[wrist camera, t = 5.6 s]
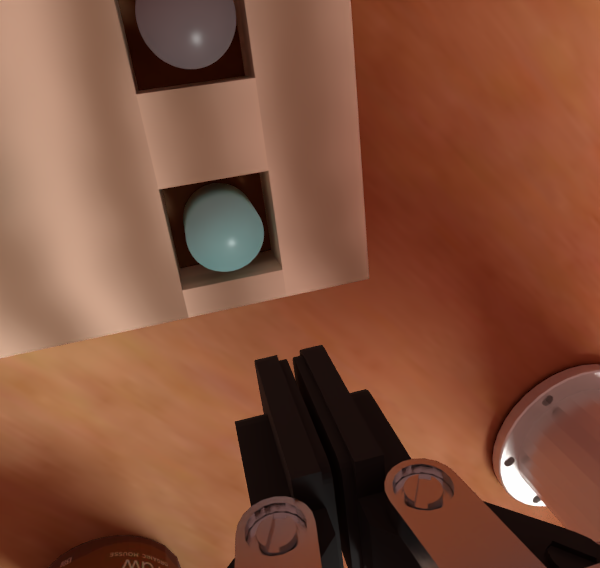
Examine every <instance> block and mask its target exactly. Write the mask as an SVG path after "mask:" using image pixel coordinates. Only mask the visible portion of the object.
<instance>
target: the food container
mask: <svg viewBox="0 0 600 568" xmlns="http://www.w3.org/2000/svg"><path fill="white" fill-rule="evenodd" d="M49 568H181V567H180V564H179V562H178V559H177V557H176V556H175V555H174V554H173V553H172V552H171V551H170V550H169V549H168V548H167V547H165V546H164V545H162V544H160V543H158V542H155V541H153V540H151V539H147V538H143V537H138V536H130V535H120V536H109V537H103V538H99V539H95V540H92V541H89V542H86V543H83V544H81V545H79V546H77V547H75V548H73V549H71V550H69V551H68V552H66V553H65V554H63V555H62V556H60V557H59V558H58V559H57V560H56V561H54V562H53V563H52V564H51V565H50V567H49Z"/></svg>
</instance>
